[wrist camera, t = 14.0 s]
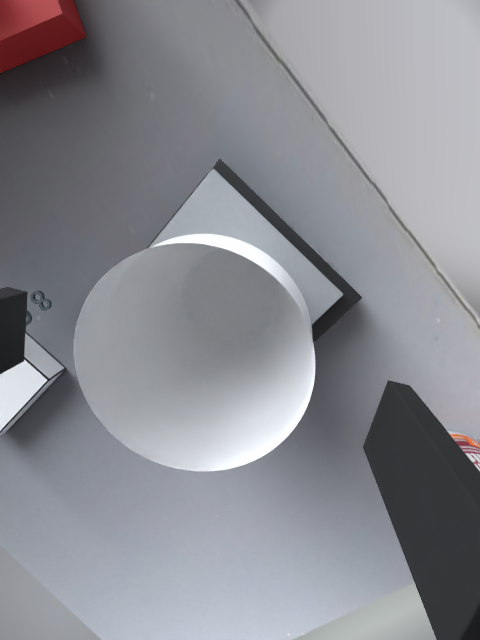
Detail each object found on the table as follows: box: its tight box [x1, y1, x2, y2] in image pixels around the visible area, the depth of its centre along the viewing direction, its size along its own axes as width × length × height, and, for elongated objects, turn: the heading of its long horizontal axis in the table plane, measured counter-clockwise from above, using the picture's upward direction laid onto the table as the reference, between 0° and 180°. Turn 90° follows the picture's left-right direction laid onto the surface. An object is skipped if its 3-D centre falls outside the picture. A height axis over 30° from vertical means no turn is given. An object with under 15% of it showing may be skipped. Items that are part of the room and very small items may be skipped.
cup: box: [74, 234, 315, 472], centre depth 18 cm, size 9×9×12 cm
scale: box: [147, 159, 362, 343], centre depth 26 cm, size 13×12×4 cm
